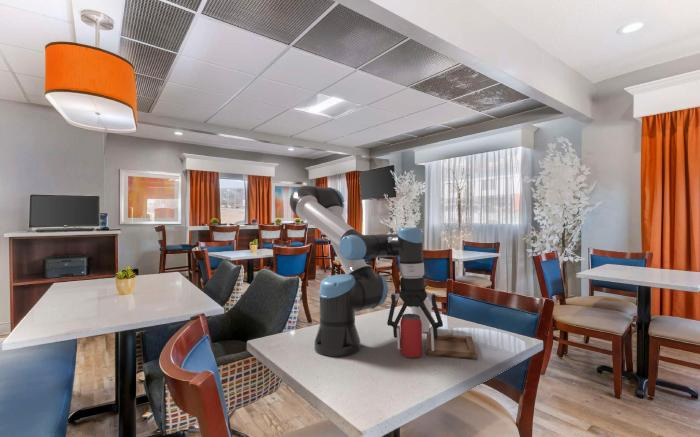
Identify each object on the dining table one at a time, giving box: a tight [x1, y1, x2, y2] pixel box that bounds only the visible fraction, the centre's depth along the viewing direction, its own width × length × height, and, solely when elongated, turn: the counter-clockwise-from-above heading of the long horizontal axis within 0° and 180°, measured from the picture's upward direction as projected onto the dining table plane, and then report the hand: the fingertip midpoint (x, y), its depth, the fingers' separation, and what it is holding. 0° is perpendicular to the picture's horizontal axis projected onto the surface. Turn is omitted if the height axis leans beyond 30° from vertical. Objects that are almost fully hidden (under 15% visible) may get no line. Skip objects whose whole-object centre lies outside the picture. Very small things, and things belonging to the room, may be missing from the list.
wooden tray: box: [425, 332, 478, 361], centre depth 107 cm, size 15×17×2 cm
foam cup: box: [408, 298, 433, 334], centre depth 126 cm, size 10×9×13 cm
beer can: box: [399, 313, 423, 359], centre depth 102 cm, size 7×7×12 cm
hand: (415, 348), depth 102 cm, fingers open, 10 cm apart
